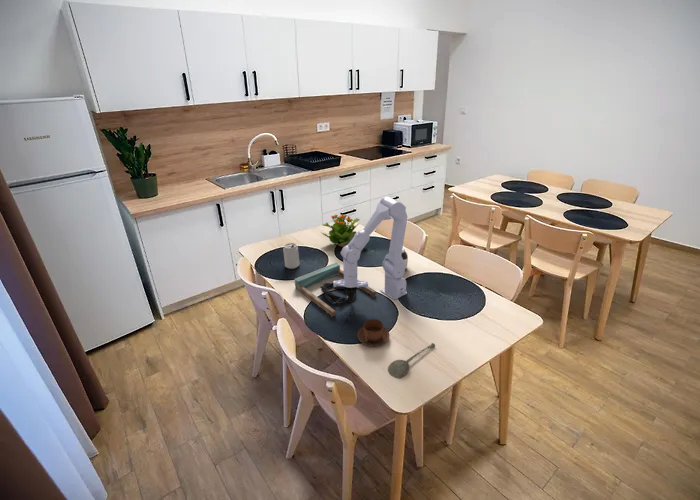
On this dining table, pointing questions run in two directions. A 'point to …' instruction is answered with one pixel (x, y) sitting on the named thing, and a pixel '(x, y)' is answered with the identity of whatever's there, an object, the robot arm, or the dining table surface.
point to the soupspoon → (403, 365)
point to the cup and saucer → (373, 333)
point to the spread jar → (403, 257)
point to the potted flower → (341, 230)
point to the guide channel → (317, 277)
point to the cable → (331, 296)
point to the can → (291, 255)
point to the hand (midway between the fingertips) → (351, 300)
